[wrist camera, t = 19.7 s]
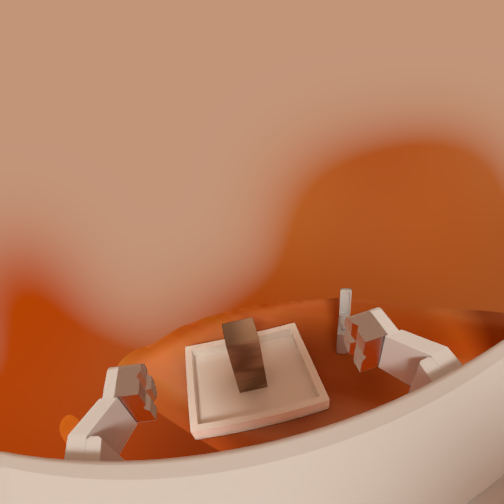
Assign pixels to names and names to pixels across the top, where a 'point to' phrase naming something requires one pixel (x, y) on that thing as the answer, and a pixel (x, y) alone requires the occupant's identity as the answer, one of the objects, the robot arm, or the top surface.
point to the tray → (256, 401)
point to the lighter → (343, 318)
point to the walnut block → (245, 354)
